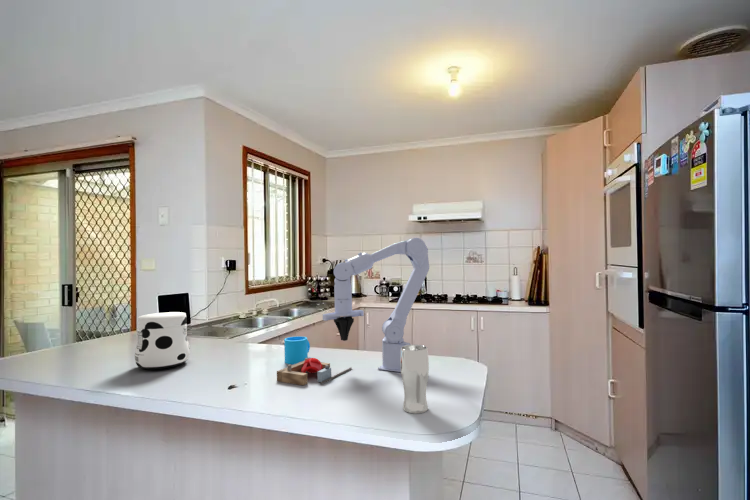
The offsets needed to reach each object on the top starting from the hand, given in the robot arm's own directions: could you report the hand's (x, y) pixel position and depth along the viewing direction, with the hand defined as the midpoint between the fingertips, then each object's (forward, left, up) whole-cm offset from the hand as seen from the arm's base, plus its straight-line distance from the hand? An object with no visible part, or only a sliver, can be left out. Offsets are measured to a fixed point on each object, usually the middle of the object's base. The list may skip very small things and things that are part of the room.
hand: (344, 340), depth 134 cm
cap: (+6, +10, -10) cm, 15 cm away
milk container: (+62, +22, -10) cm, 67 cm away
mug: (+22, -4, -10) cm, 25 cm away
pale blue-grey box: (0, +12, -10) cm, 15 cm away
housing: (+5, +9, -10) cm, 14 cm away
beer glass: (-34, +22, -10) cm, 41 cm away
